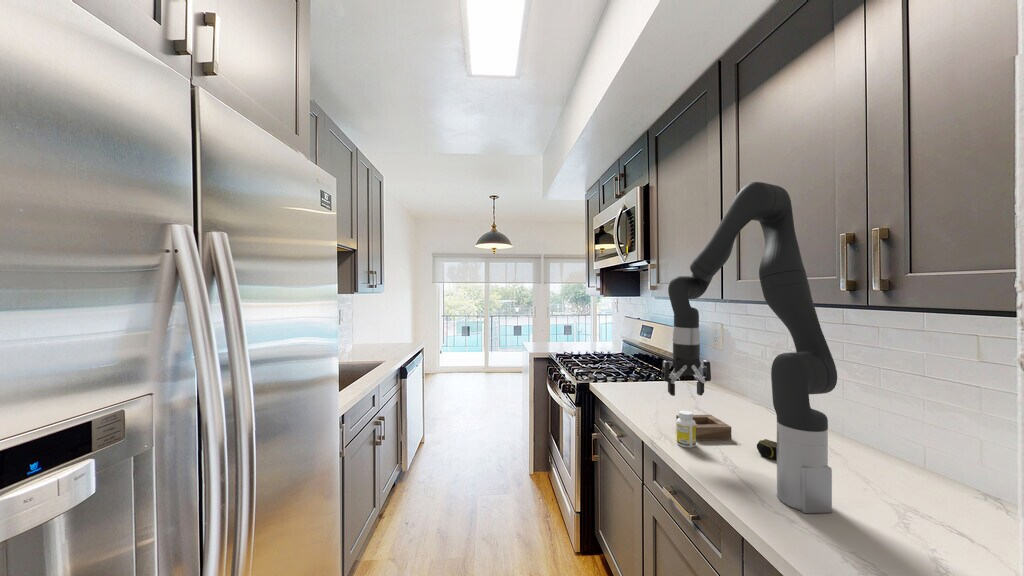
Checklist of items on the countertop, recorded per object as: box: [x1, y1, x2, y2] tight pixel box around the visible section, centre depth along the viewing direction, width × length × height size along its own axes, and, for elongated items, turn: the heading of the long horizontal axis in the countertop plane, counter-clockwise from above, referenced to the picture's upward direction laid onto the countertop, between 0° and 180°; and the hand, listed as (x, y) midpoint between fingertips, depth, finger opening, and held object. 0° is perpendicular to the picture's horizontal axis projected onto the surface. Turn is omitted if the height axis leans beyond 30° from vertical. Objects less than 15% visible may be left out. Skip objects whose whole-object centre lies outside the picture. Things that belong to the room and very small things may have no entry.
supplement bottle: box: [675, 410, 697, 449], centre depth 121 cm, size 5×5×10 cm
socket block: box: [675, 414, 732, 441], centre depth 131 cm, size 12×12×4 cm
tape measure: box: [756, 438, 777, 460], centre depth 113 cm, size 7×7×4 cm
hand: (686, 395), depth 121 cm, fingers open, 8 cm apart
